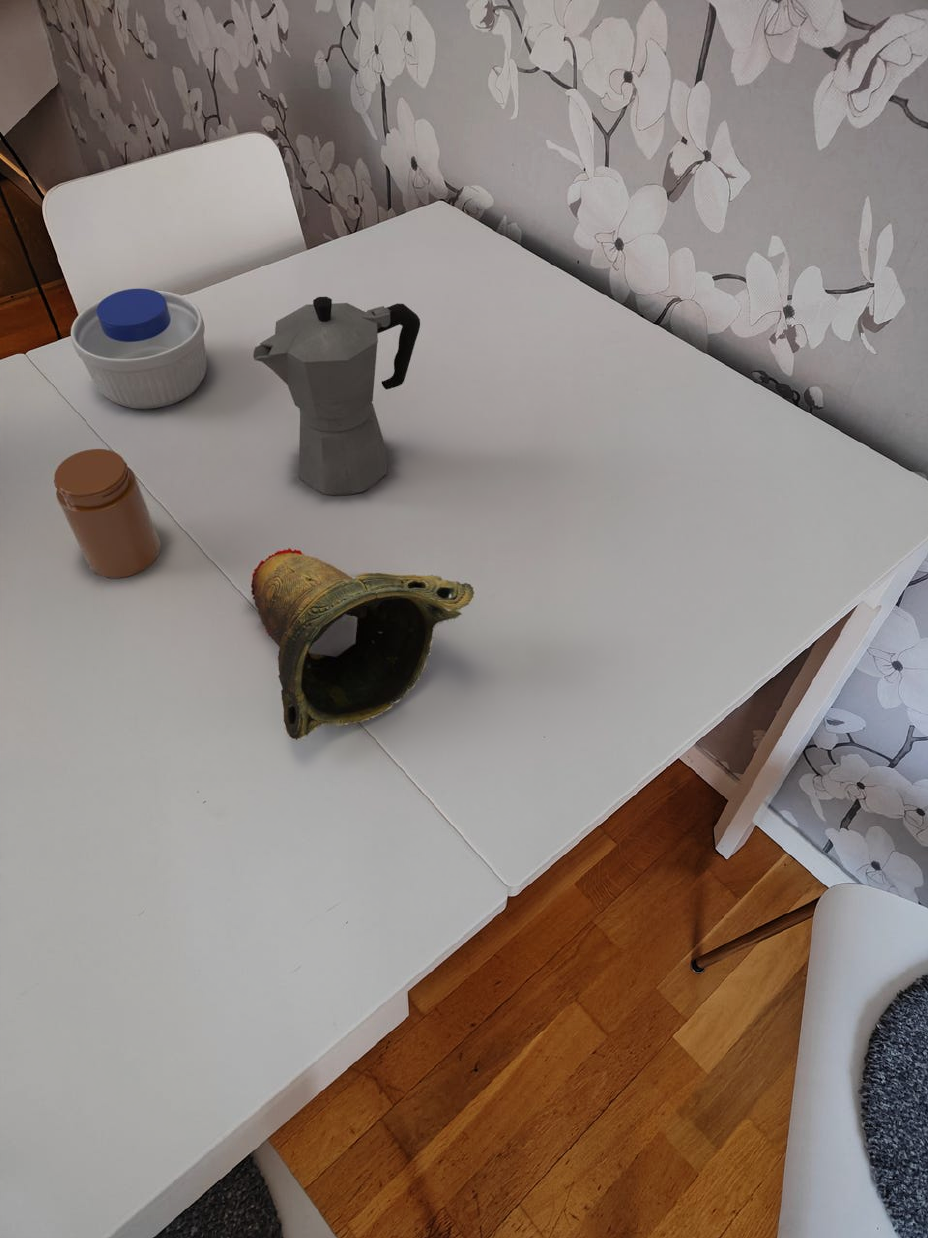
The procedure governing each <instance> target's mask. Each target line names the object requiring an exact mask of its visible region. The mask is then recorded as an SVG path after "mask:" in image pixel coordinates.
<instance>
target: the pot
mask: <svg viewBox="0 0 928 1238" xmlns="http://www.w3.org/2000/svg"><path fill="white" fill-rule="evenodd" d="M250 586H251V589H252V590H250V592H251V596H252V600H253V601H254V605H255V607H256V608H257V613H258V615H259V618H260V621H261V624H262V625H263V626H264V629H265V633H266V634H267V635H268V637H270V638H271V640H272V641H274V643H275V644H276V645H277V647H279V650H278V656H277V660H278V663H277V664H278V673H279V674H278V675H277V677H278V679H279V682H280V686H281V690H280V692H281V701H282V706H283V722H284V726H285V727H284V729H285V733H286V735H288V737H289V738H290V739H291V740H293V739H294V740H296V741H299V740H301V739H304V738H306V737H308V736H309V735H310V734H311V732H313V731H315V730H316V729H319V728H320V727H321V726H322V724H324V726H325V727H326V725H335V726H338V727H341V726H344V725H345V726H348V724H351V723H352V724H356V723H359V722H360V723H363V722H364V721H370V718H371V719H375V718H376V717H379V715H382V714H383V712H386V711H388V710H390V709H392V708H393V706H394V705H393V704H395V703H396V704H397V703H399V702H400V701H401V699H404V698H405V697H406V695H407V694H408V692H409V691H410V690H411V689H412V690H413V689H414V688H415V686H416V684H417V683H418V682H419V680H420V676H421V674H423V673H424V669H425V668H426V667H427V663H428V657H429V656H430V655H431V651H433V650H432V648H431V647H432V646H433V638H435V636H434V632H435V629H436V627H438V625H440V624H443V623H444V622H450V621H452V620H456V619H458V618H459V617H460V616H462V614H463V613H462V612H461V611H462V609H463V608H464V607H466V606H470V604H471V603H472V601H473V599H474V598H475V590H474V587H473V586H472V584H471V583H467V582H463V583H461V582H460V581H450V580H448V579H442V577H441V576H438V575H433V574H431V575H416V574H393V573H392V574H391V573H382V572H367V573H366V572H365V573H360V574H357V575H356V577H355V578H352V577H351V576H350V575H349V574H347V573H346V572H344V571H342V570H341V569H339V568H338V567H335V566H334V565H332V564H330V563H328V562H325V561H324V560H321V559H319V558H317V557H314V556H309V555H306V554H304V553H303V552H302V551H301V550H300V549H294V550H292V549H291V548H290V547H288V548H287V549H283V550H277V551H276V552H274V554H271V555H268V557H267V558H265V560H260V562H259V563H258V565H257V567H256V568H254V569H253V573H252V579H251V585H250ZM450 596H451V597H450ZM345 615H347V616H350V617H354V618H356V629H355V641H354V643H353V644H352V645H350V646H349V647H347V649H345V650H344V651H342V652H341V653H340V654H338V655H337V656H334V655H327V654H318V653H312V652H310V649H311V647H312V646H313V645H314V644H315V643H316V642H317V641H318V640H319V639H320V638H321V637H322V636H323V635H324V634H325V633H326V632H327V631H328V629H329V628H330V627H331V626H332V625H333V624H334V623H336V622H337V621H338V620H340V619H342V618H343V617H344V616H345Z"/></svg>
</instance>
